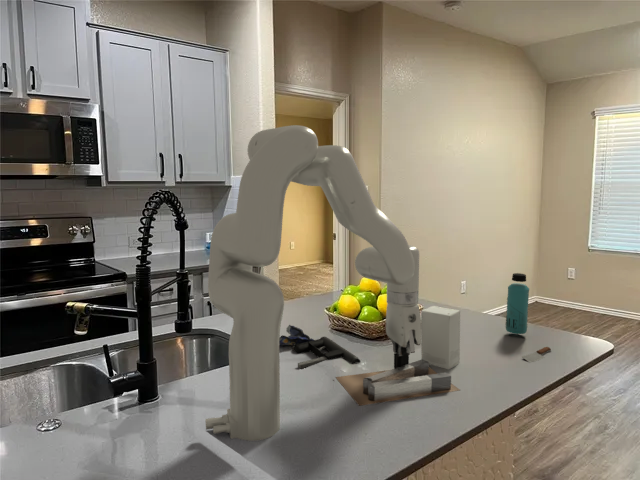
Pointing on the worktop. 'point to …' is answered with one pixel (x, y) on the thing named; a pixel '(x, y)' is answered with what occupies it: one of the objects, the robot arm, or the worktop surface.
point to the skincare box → (440, 336)
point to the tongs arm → (398, 373)
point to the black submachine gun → (322, 343)
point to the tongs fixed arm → (409, 386)
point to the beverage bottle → (517, 305)
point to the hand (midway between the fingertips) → (401, 369)
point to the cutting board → (355, 389)
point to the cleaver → (536, 355)
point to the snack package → (294, 336)
